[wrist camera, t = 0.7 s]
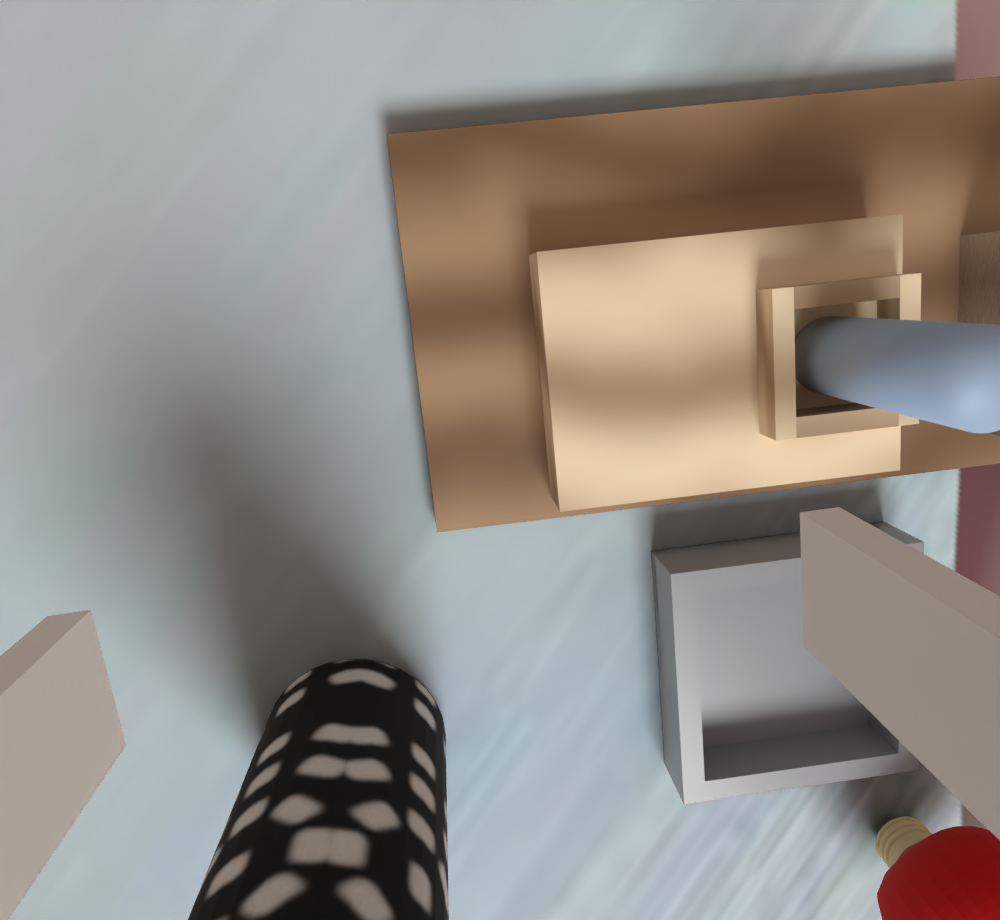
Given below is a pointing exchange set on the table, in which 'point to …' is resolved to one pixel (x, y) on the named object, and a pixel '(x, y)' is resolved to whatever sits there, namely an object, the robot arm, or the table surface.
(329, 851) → the spotted tube
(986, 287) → the block
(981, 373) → the dowel
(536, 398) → the board
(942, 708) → the robot arm
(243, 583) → the table surface
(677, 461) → the wooden block with recess
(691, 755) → the tray
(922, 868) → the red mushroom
